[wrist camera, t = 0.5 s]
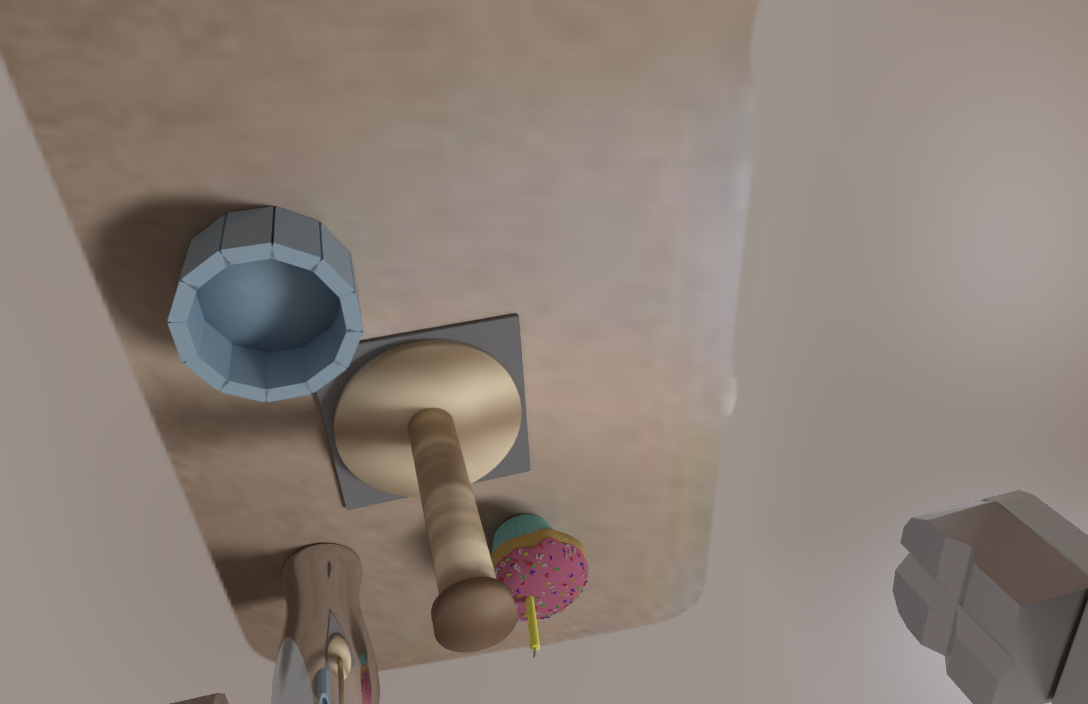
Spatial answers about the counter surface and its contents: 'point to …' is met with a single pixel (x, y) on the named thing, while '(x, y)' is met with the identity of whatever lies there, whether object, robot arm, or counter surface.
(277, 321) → the bowl
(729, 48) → the counter surface
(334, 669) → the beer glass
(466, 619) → the brown piece
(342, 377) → the mat
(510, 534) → the cupcake
